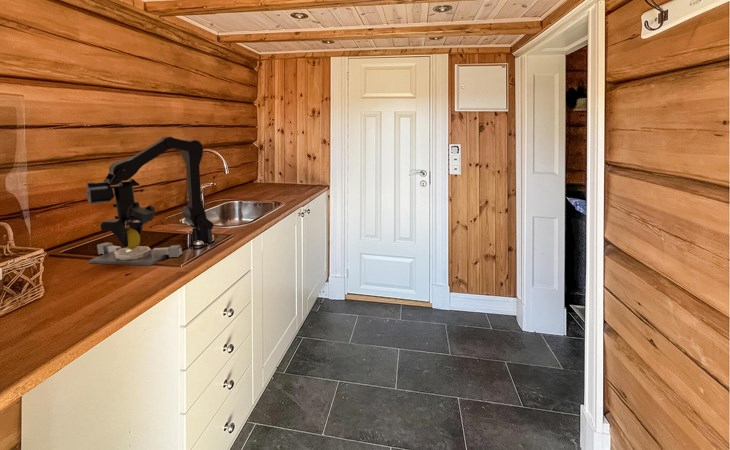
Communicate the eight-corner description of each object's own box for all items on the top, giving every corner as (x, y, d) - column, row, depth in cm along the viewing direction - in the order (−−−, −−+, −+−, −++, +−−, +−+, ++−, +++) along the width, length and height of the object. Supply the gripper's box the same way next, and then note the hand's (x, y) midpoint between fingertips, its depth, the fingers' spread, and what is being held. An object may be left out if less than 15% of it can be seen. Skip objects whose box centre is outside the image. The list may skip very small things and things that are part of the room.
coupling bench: (186, 253, 146) (185, 244, 145) (162, 266, 132) (161, 256, 131) (107, 250, 150) (106, 241, 149) (76, 262, 136) (75, 252, 135)
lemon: (121, 253, 137) (118, 230, 135) (125, 248, 142) (122, 226, 140) (139, 251, 139) (136, 229, 137) (143, 247, 144) (140, 225, 142)
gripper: (127, 205, 126) (134, 253, 130) (164, 195, 144) (169, 237, 148) (95, 205, 127) (103, 252, 131) (135, 195, 145) (141, 236, 149)
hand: (131, 244), depth 140 cm, fingers closed on lemon, 5 cm apart
